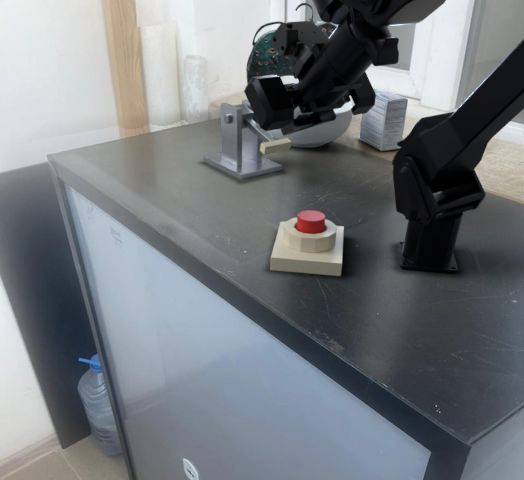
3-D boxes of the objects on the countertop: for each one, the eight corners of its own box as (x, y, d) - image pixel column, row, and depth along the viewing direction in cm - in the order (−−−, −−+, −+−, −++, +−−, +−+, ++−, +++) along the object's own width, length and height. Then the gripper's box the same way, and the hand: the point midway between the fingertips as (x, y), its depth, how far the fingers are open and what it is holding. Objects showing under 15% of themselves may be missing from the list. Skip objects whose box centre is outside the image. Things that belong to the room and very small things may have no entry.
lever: (289, 152, 83) (292, 138, 82) (263, 158, 81) (266, 143, 79) (248, 117, 88) (251, 102, 87) (222, 121, 86) (224, 106, 84)
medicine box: (401, 149, 100) (409, 98, 95) (379, 151, 99) (387, 100, 94) (378, 137, 106) (385, 89, 101) (358, 139, 105) (364, 90, 100)
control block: (340, 276, 62) (344, 248, 60) (270, 270, 63) (271, 242, 61) (342, 238, 70) (345, 212, 68) (279, 233, 71) (281, 207, 68)
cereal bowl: (363, 139, 105) (368, 100, 101) (325, 163, 93) (329, 119, 89) (285, 125, 111) (286, 87, 107) (241, 146, 100) (241, 104, 96)
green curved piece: (331, 104, 127) (341, 2, 115) (336, 111, 122) (347, 5, 110) (245, 103, 125) (246, 0, 113) (247, 110, 120) (247, 3, 108)
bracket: (281, 172, 89) (284, 108, 83) (241, 182, 85) (241, 115, 79) (242, 154, 96) (242, 94, 90) (203, 162, 92) (200, 100, 86)
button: (323, 236, 63) (324, 222, 62) (295, 234, 63) (296, 220, 62) (324, 225, 65) (325, 211, 64) (297, 222, 66) (298, 209, 65)
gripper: (372, -5, 70) (310, 75, 84) (253, -1, 61) (206, 89, 75) (408, 73, 70) (340, 141, 83) (294, 89, 61) (238, 162, 74)
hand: (283, 132), depth 79 cm, fingers closed
